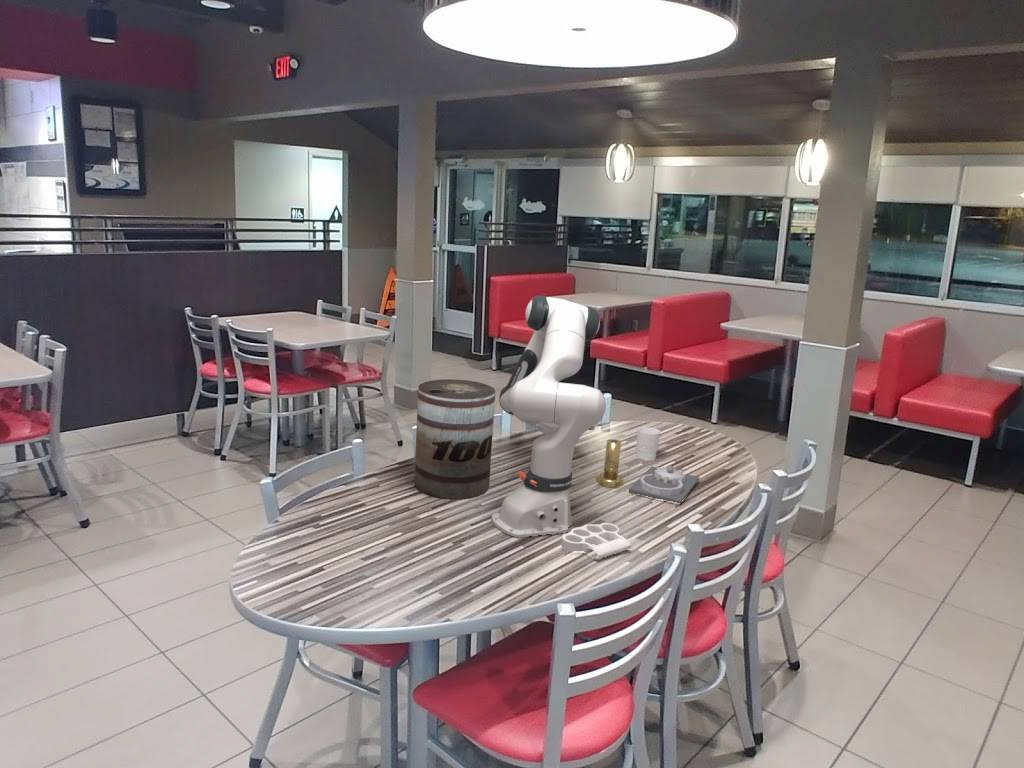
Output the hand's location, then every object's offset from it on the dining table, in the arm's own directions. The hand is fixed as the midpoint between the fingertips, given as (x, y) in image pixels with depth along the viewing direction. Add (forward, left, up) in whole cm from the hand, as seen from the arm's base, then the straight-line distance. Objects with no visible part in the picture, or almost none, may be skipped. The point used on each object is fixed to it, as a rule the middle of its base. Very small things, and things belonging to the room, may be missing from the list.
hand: (584, 430), depth 243 cm
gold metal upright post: (+3, -12, -14) cm, 19 cm away
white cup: (+31, +3, -14) cm, 34 cm away
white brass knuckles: (-28, -45, -15) cm, 55 cm away
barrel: (-44, +5, -14) cm, 47 cm away
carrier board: (+18, -21, -14) cm, 31 cm away
